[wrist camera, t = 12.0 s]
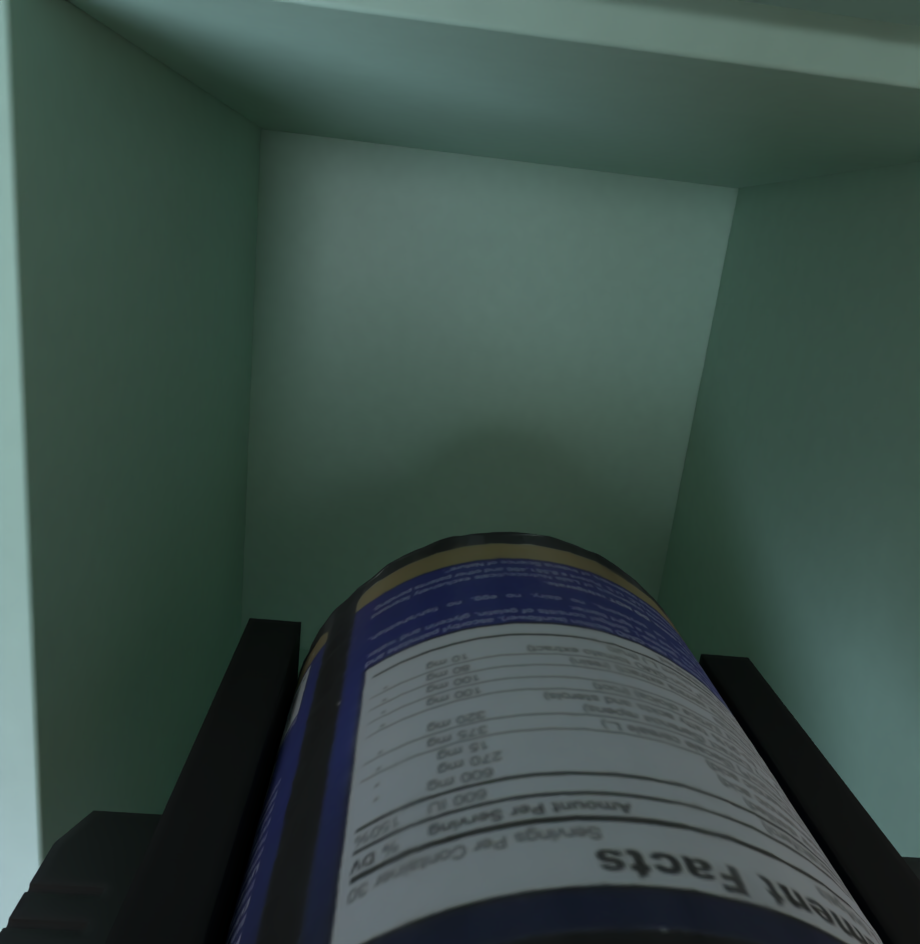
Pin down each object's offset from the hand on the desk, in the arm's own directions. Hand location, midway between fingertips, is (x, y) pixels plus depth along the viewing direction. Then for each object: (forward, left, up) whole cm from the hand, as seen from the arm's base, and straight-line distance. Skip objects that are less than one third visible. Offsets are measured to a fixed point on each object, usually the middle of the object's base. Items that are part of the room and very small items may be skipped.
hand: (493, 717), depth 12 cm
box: (0, +2, -11) cm, 11 cm away
